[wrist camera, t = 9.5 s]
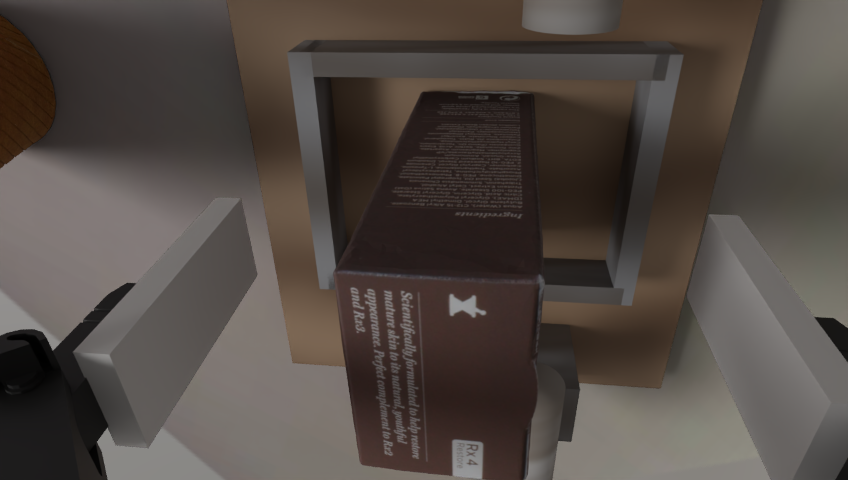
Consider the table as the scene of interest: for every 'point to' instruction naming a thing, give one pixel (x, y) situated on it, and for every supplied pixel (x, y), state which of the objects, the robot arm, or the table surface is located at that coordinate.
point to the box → (448, 292)
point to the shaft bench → (556, 147)
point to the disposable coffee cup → (22, 94)
